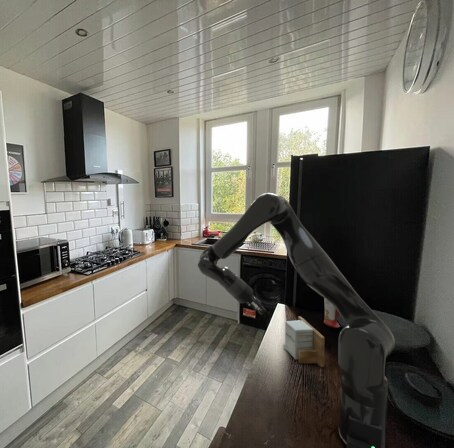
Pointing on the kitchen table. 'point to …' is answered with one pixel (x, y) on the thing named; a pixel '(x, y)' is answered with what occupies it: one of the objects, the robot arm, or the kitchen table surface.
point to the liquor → (331, 315)
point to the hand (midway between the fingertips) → (269, 316)
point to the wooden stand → (318, 348)
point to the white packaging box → (298, 337)
